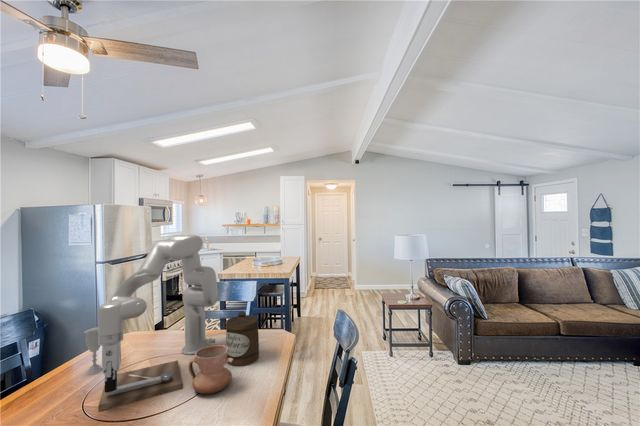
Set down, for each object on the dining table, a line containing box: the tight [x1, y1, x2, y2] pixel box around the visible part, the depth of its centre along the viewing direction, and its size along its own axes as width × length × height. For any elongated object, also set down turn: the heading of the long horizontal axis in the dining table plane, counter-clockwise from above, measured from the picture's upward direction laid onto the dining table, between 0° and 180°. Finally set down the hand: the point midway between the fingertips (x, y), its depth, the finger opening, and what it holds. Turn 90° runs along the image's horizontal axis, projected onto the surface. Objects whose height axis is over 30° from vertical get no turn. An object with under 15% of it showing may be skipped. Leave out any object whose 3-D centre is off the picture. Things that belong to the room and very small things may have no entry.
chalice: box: [83, 326, 102, 376], centre depth 128 cm, size 7×7×18 cm
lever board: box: [97, 359, 183, 412], centre depth 116 cm, size 26×22×2 cm
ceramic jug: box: [188, 344, 233, 395], centre depth 114 cm, size 18×14×14 cm
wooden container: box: [225, 310, 260, 367], centre depth 137 cm, size 15×15×22 cm
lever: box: [107, 369, 173, 396], centre depth 111 cm, size 22×4×8 cm, turn 119°
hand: (111, 387), depth 106 cm, fingers closed on lever, 3 cm apart
